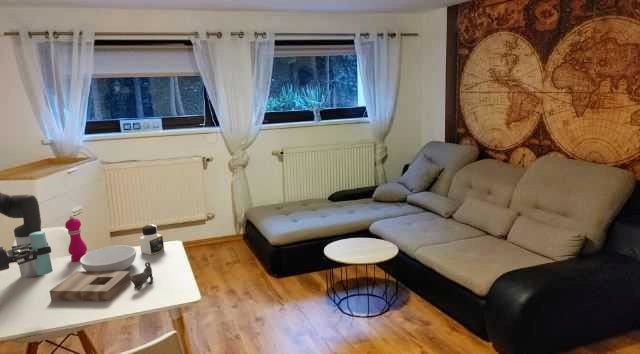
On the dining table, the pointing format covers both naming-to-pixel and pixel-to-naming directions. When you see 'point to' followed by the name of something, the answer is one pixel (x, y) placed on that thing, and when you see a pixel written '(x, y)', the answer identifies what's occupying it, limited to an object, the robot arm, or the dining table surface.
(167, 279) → the dining table surface
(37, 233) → the pin
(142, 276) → the dog figurine
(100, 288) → the socket board
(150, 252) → the medicine bottle
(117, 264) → the serving bowl
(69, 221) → the pepper mill
